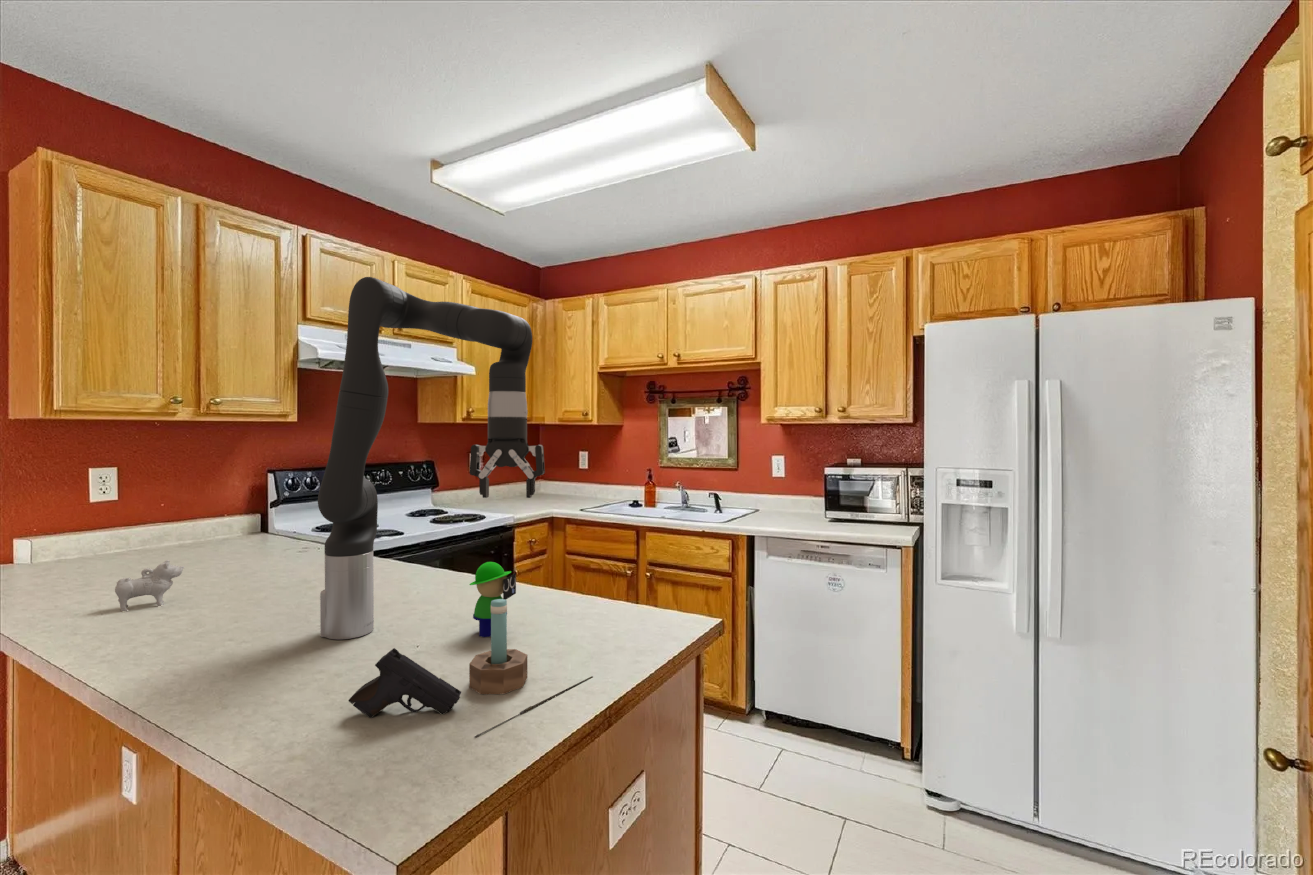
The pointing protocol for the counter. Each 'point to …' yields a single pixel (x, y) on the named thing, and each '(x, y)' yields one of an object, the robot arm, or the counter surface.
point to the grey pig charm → (148, 584)
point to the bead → (498, 673)
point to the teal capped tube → (498, 631)
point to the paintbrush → (538, 704)
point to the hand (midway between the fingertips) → (507, 497)
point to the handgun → (404, 687)
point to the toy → (491, 592)
